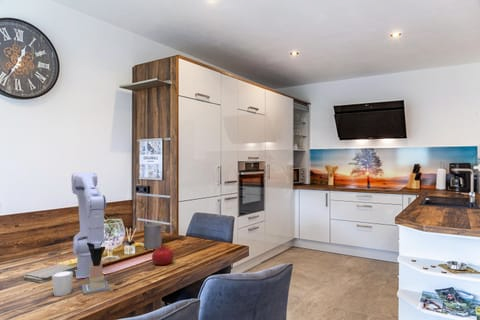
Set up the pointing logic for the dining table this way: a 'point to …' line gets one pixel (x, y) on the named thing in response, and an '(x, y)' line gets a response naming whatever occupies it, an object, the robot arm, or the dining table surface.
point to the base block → (96, 282)
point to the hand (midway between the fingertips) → (95, 263)
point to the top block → (95, 271)
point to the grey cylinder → (62, 283)
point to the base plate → (87, 290)
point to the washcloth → (47, 273)
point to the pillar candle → (152, 235)
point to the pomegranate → (162, 256)
